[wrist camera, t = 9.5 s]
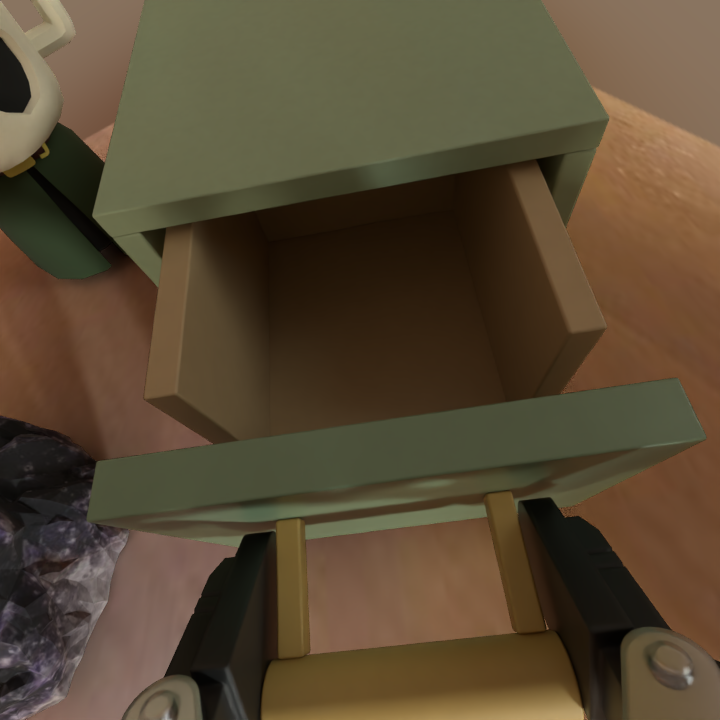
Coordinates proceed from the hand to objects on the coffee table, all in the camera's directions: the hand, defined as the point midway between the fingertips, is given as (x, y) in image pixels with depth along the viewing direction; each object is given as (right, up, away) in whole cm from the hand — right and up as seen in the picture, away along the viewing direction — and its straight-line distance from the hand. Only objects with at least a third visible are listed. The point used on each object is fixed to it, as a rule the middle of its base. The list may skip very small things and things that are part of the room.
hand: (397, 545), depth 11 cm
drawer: (0, +3, +6) cm, 7 cm away
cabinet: (-1, +11, +11) cm, 16 cm away
